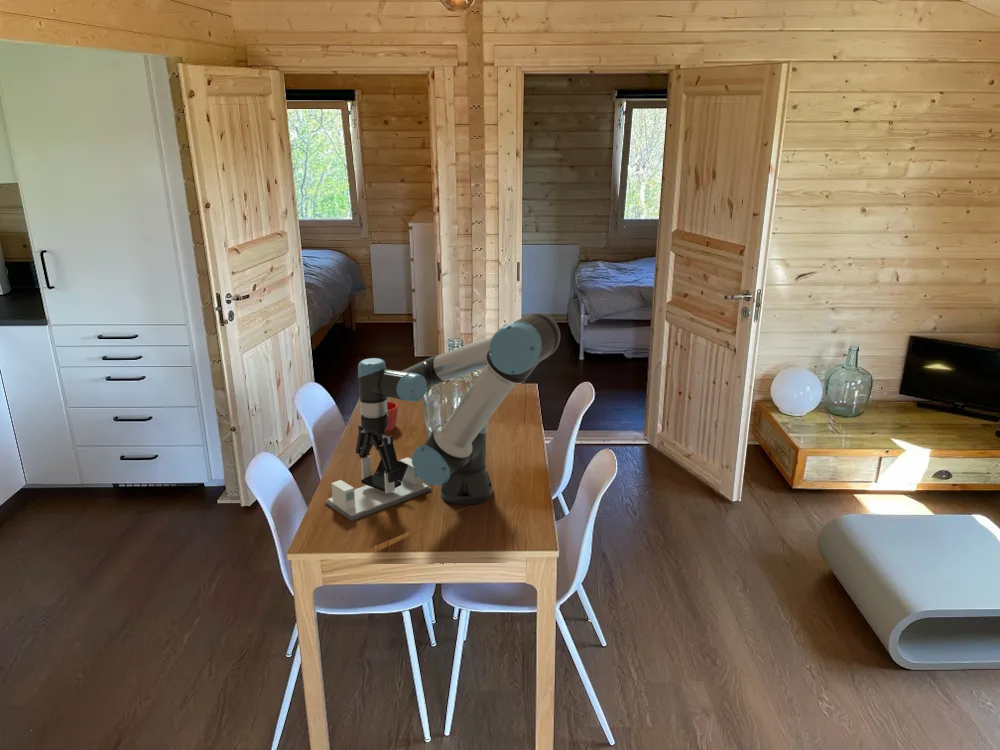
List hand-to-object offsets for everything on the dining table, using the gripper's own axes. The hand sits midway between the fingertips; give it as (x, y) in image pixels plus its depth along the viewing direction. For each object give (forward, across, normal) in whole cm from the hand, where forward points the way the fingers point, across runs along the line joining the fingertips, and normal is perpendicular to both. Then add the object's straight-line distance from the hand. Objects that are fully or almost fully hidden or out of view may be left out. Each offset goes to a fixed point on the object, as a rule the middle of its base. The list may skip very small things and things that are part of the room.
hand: (378, 484), depth 208 cm
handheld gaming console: (+2, 0, 0) cm, 2 cm away
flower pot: (+4, +42, -30) cm, 52 cm away
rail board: (+4, 0, 0) cm, 4 cm away
